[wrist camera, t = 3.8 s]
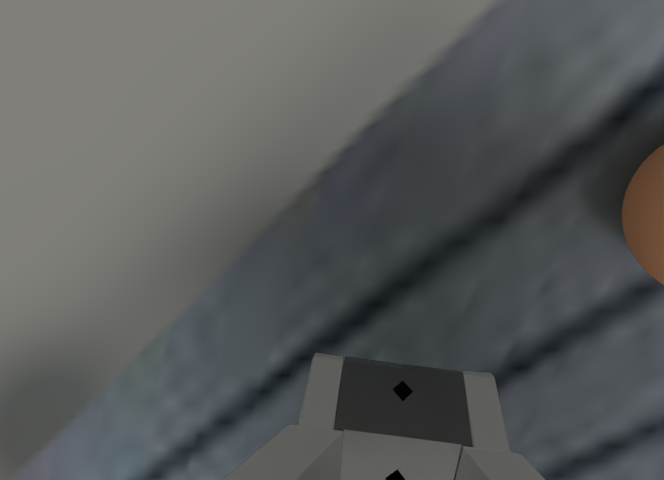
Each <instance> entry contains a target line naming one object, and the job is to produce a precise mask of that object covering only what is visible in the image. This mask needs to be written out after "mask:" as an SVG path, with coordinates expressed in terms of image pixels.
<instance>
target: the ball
mask: <svg viewBox="0 0 664 480" xmlns="http://www.w3.org/2000/svg"><path fill="white" fill-rule="evenodd" d="M622 226H623V230H624V235H625V239H626V241H627V244H628V246H629V248H630V250H631V252H632V254H633V255H634V257H635V258H636V260H637V261H638V263H639V264H640V265H641V266H642V267H643V268H644V269H645V270H646V272H647V273H648V274H650V275H651V276H652V277H653V278H654V279H656V280H657V281H658V282H660V283H661V284H663V285H664V144H663V145H662V146H660V147H659V148H657V149H656V150H655V151H654V152H653V153H652V154H650V155H649V156H648V157H647V158H646V159H645V161H644V162H643V163H642V164H641V165H640V166H639V168H638V169H637V170H636V172H635V174H634V175H633V177H632V179H631V181H630V183H629V185H628V187H627V190H626V192H625V196H624V200H623V207H622Z"/></svg>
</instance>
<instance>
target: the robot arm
mask: <svg viewBox="0 0 664 480" xmlns="http://www.w3.org/2000/svg"><path fill="white" fill-rule="evenodd" d="M224 480H545V479H544V478H543V477H542V476H541V475H540V474H539V473H538V472H537V471H536V470H535V468H534V467H533V466H532V465H531V464H530V463H529V462H528V461H527V460H526V459H525V458H524V457H523V456H522V455H521V454H519V453H512V452H511V451H510V446H509V442H508V437H507V433H506V428H505V423H504V419H503V414H502V410H501V405H500V401H499V396H498V391H497V387H496V382H495V378H494V376H493V375H492V374H491V373H485V372H475V371H464V370H461V371H459V370H450V369H441V368H432V367H422V366H413V365H404V364H397V363H389V362H382V361H375V360H368V359H361V358H354V357H347V356H345V359H344V357H343V356H336V355H328V354H321V353H315V355H314V357H313V359H312V363H311V368H310V372H309V377H308V381H307V386H306V390H305V395H304V399H303V404H302V408H301V413H300V417H299V422H298V425H292V424H288V425H287V426H286V427H285V428H284V429H283V430H281V431H280V432H279V433H278V434H277V435H275V436H274V437H273V438H272V439H271V440H270V441H268V442H267V443H266V444H265V445H264V446H263V447H261V448H260V449H259V450H258V451H257V452H255V453H254V454H253V455H252V456H251V457H250V458H248V459H247V460H246V461H245V462H244V463H242V464H241V465H240V466H239V467H238V468H237V469H235V470H234V471H233V472H232V473H231V474H230V475H228V476H227V477H226V478H225V479H224Z"/></svg>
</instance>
